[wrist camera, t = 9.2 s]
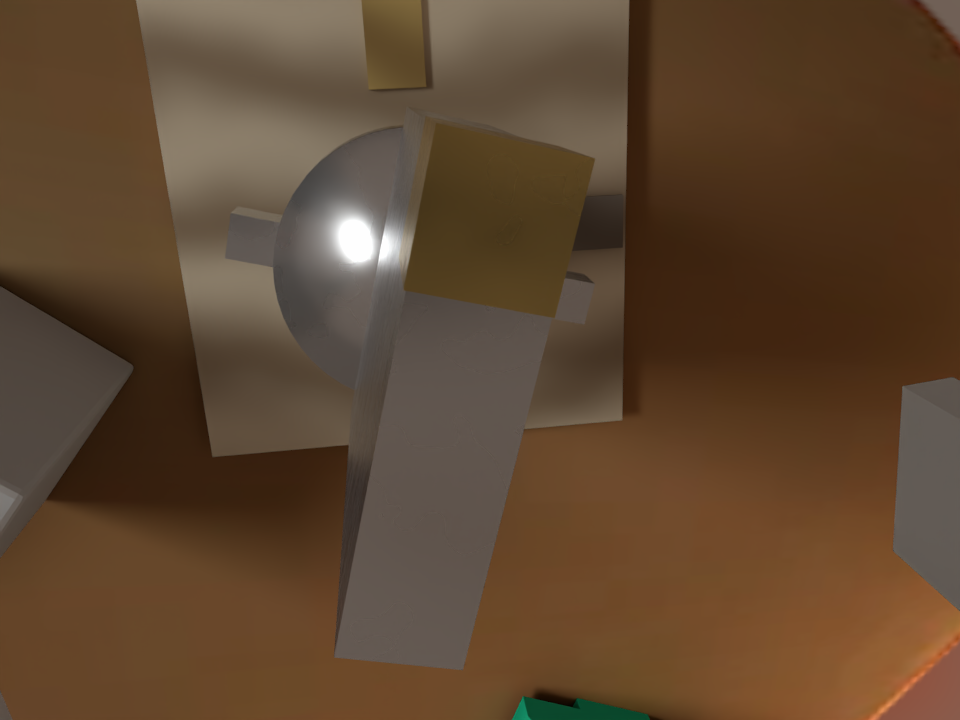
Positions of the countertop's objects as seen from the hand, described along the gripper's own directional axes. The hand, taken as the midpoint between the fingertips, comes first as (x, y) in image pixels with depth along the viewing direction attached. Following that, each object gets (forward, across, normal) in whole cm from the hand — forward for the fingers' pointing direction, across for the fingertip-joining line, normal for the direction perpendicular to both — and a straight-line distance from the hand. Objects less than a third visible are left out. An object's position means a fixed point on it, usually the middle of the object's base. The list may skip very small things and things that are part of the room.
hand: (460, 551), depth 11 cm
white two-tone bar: (+21, +1, 0) cm, 21 cm away
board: (+28, +1, -1) cm, 28 cm away
